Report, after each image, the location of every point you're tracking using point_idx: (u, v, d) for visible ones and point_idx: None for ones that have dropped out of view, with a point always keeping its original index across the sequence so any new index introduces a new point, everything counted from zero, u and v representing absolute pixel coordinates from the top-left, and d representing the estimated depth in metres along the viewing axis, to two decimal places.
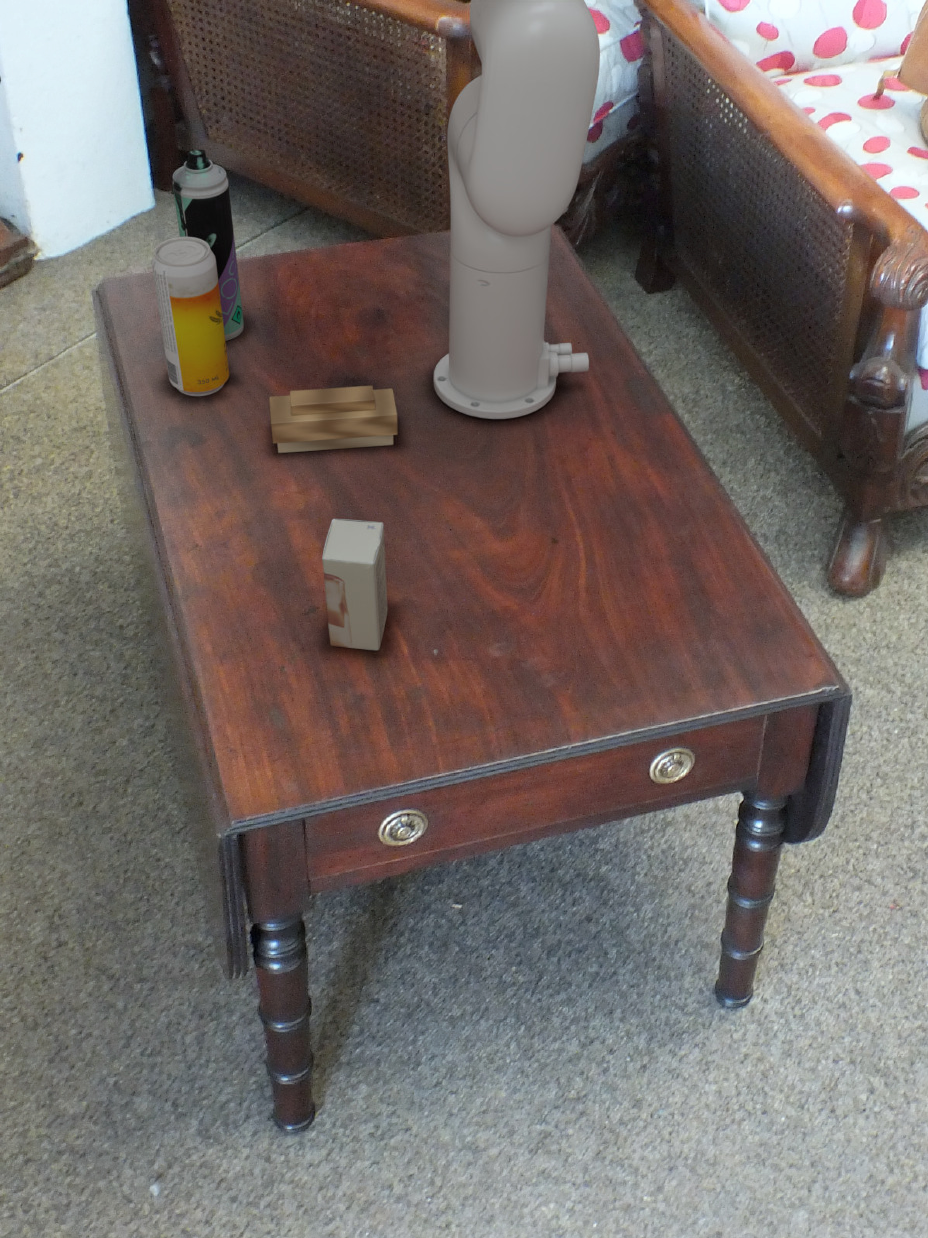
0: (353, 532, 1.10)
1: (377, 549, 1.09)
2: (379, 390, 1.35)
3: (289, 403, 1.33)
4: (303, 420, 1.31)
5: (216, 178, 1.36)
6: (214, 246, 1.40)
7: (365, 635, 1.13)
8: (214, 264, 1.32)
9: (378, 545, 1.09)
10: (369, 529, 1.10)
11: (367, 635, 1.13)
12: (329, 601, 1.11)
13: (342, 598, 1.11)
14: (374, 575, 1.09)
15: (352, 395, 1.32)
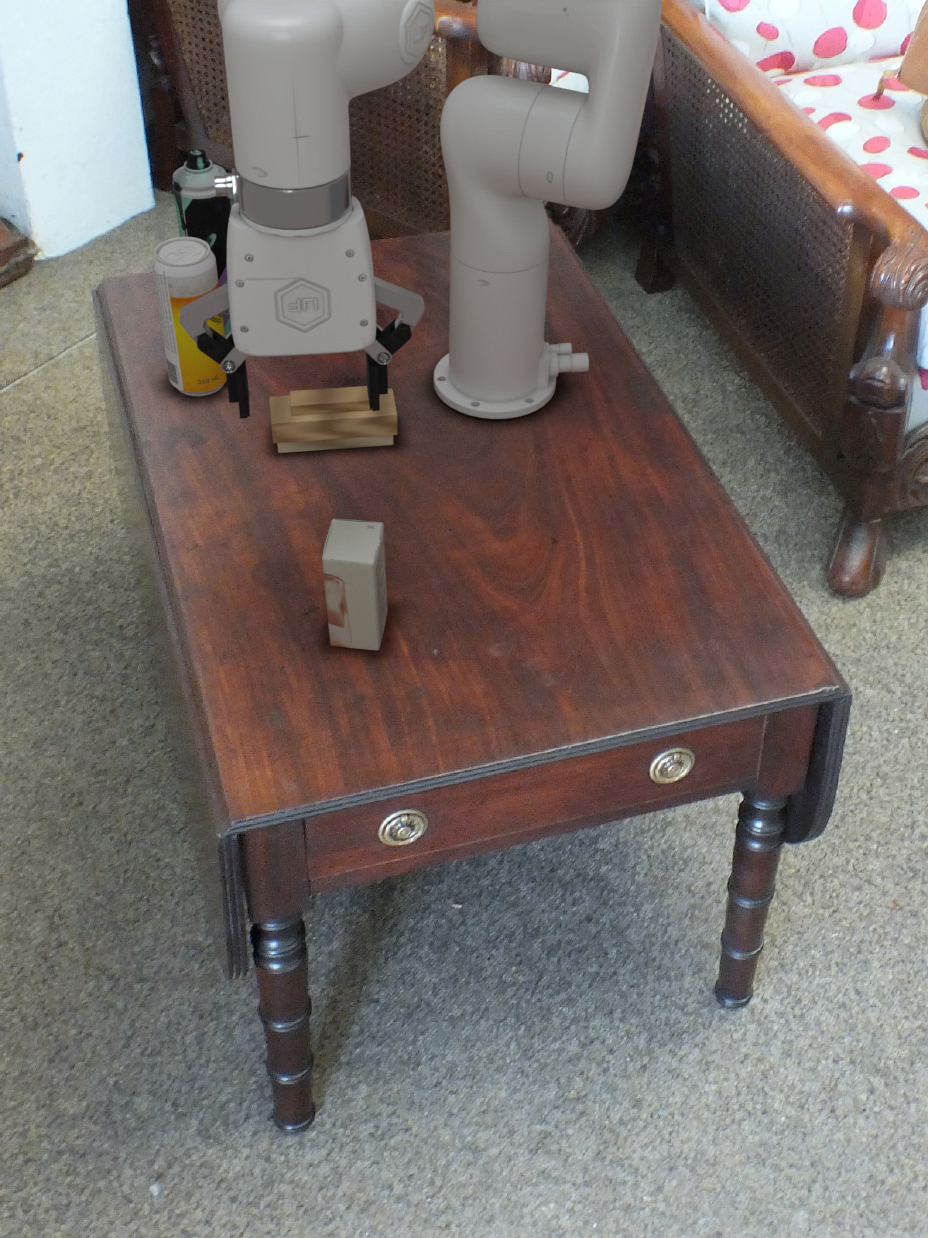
0: (353, 532, 1.10)
1: (377, 549, 1.09)
2: None
3: (289, 403, 1.33)
4: (303, 420, 1.31)
5: None
6: (214, 246, 1.40)
7: (365, 635, 1.13)
8: (214, 264, 1.32)
9: (378, 545, 1.09)
10: (369, 529, 1.10)
11: (367, 635, 1.13)
12: (329, 601, 1.11)
13: (342, 598, 1.11)
14: (374, 575, 1.09)
15: (352, 395, 1.32)
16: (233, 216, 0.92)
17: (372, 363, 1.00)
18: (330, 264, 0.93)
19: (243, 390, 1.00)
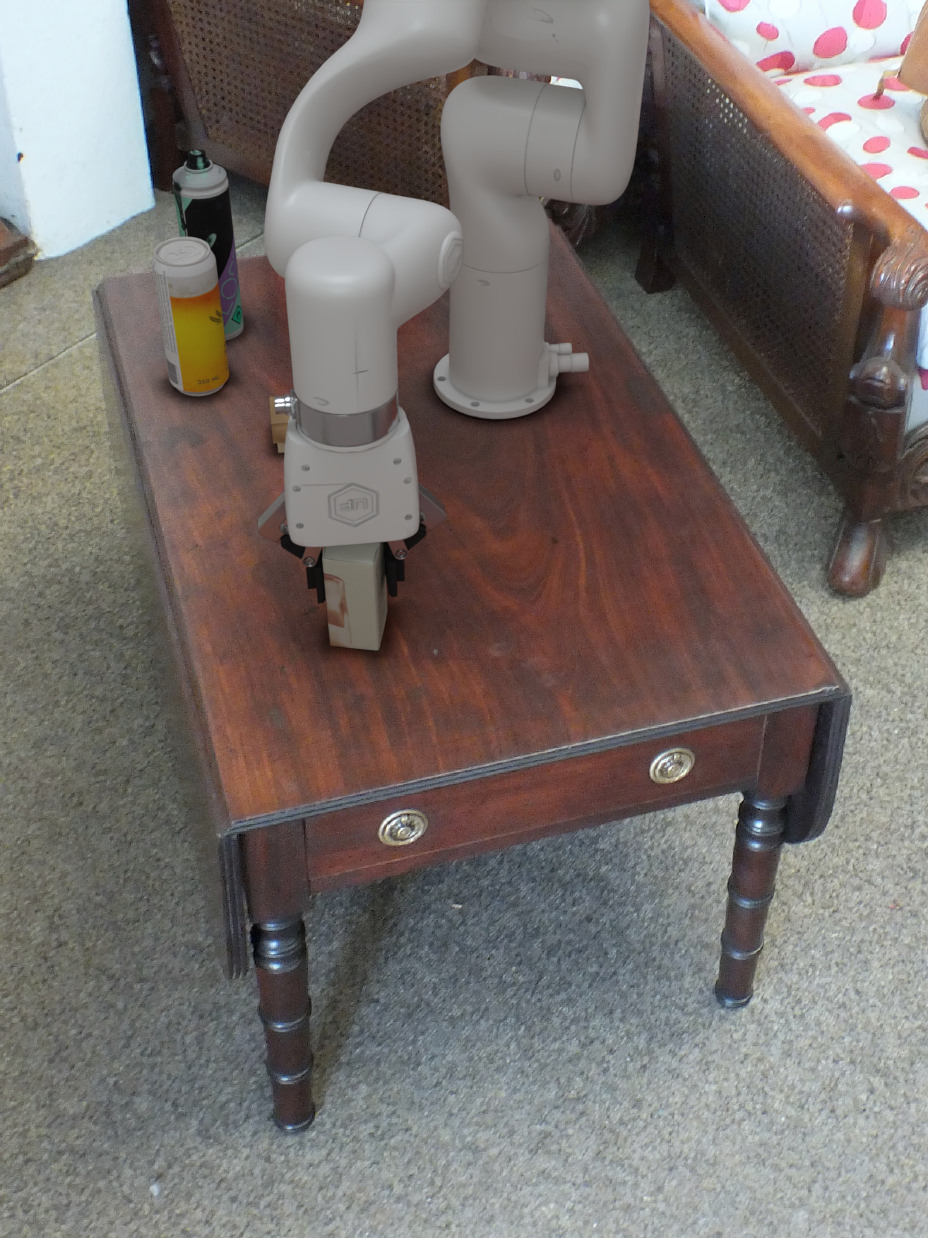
0: None
1: (377, 549, 1.09)
2: None
3: None
4: None
5: (216, 178, 1.36)
6: (214, 246, 1.40)
7: (365, 635, 1.13)
8: (214, 264, 1.32)
9: (378, 545, 1.09)
10: None
11: (367, 635, 1.13)
12: (329, 601, 1.11)
13: (342, 598, 1.11)
14: (374, 575, 1.09)
15: None
16: (291, 430, 1.01)
17: (390, 558, 1.10)
18: (379, 471, 1.02)
19: (321, 580, 1.10)
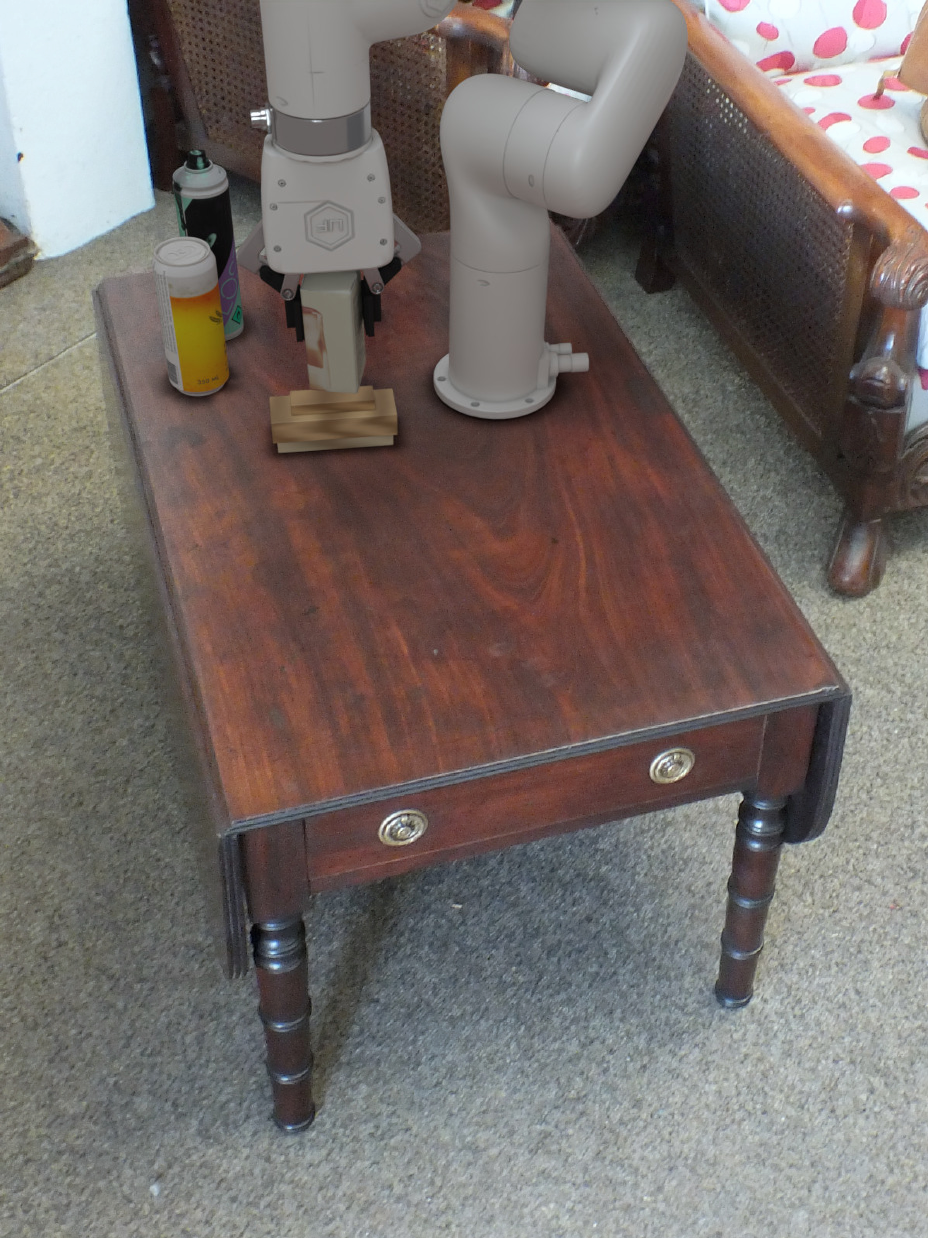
0: None
1: (354, 282, 1.12)
2: (379, 390, 1.35)
3: (289, 403, 1.33)
4: (303, 420, 1.31)
5: (216, 178, 1.36)
6: (214, 246, 1.40)
7: (344, 376, 1.16)
8: (214, 264, 1.32)
9: (355, 278, 1.12)
10: None
11: (346, 375, 1.16)
12: (308, 338, 1.14)
13: (320, 334, 1.13)
14: (351, 306, 1.11)
15: (352, 395, 1.32)
16: (267, 146, 1.03)
17: (367, 293, 1.13)
18: (353, 188, 1.04)
19: (300, 316, 1.13)
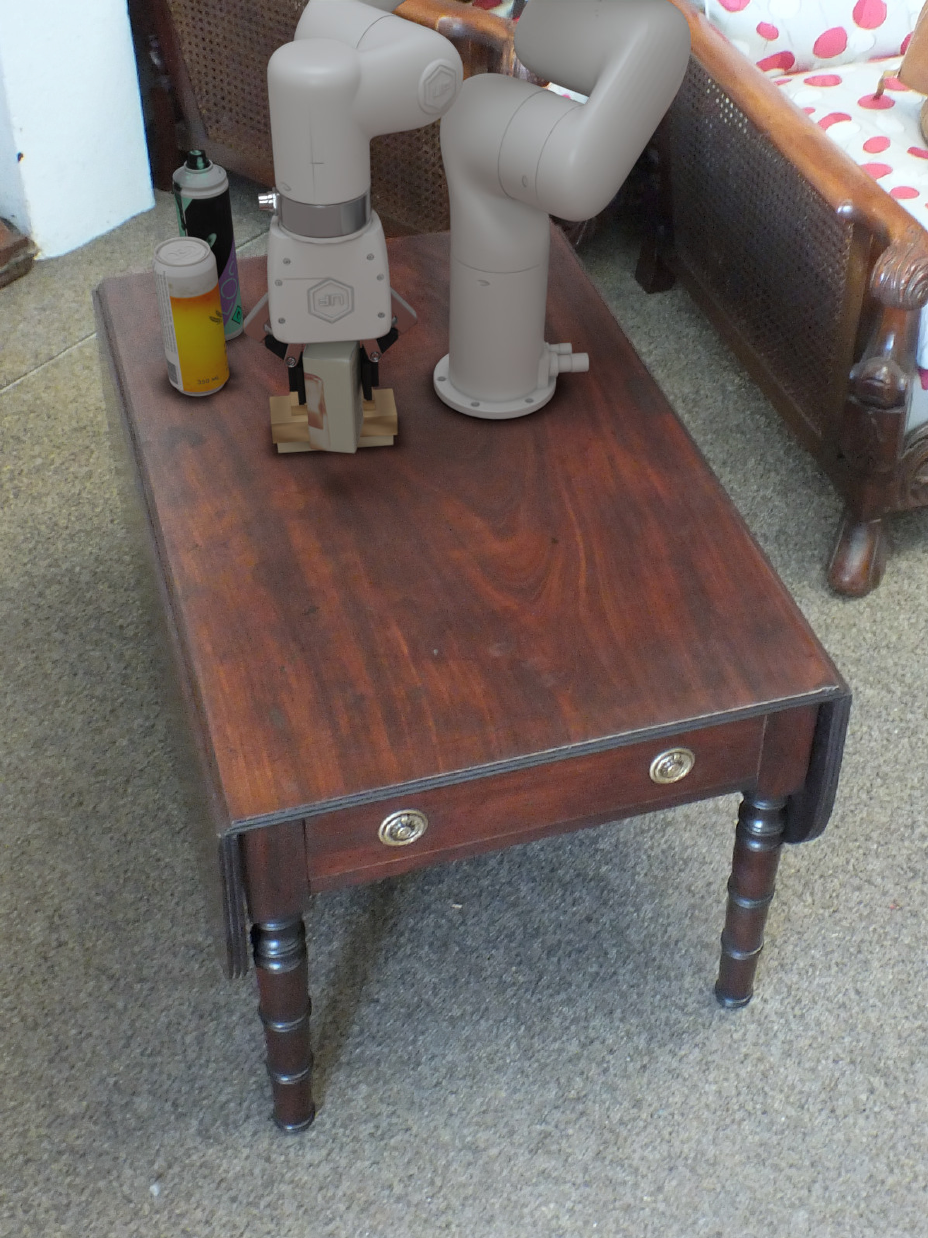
0: None
1: (353, 350, 1.19)
2: (379, 390, 1.35)
3: (289, 403, 1.33)
4: (303, 420, 1.31)
5: (216, 178, 1.36)
6: (214, 246, 1.40)
7: (343, 437, 1.23)
8: (214, 264, 1.32)
9: (354, 347, 1.19)
10: None
11: (344, 436, 1.23)
12: (309, 402, 1.21)
13: (321, 398, 1.20)
14: (350, 374, 1.18)
15: None
16: (273, 227, 1.11)
17: (365, 360, 1.20)
18: (354, 266, 1.11)
19: (302, 381, 1.20)
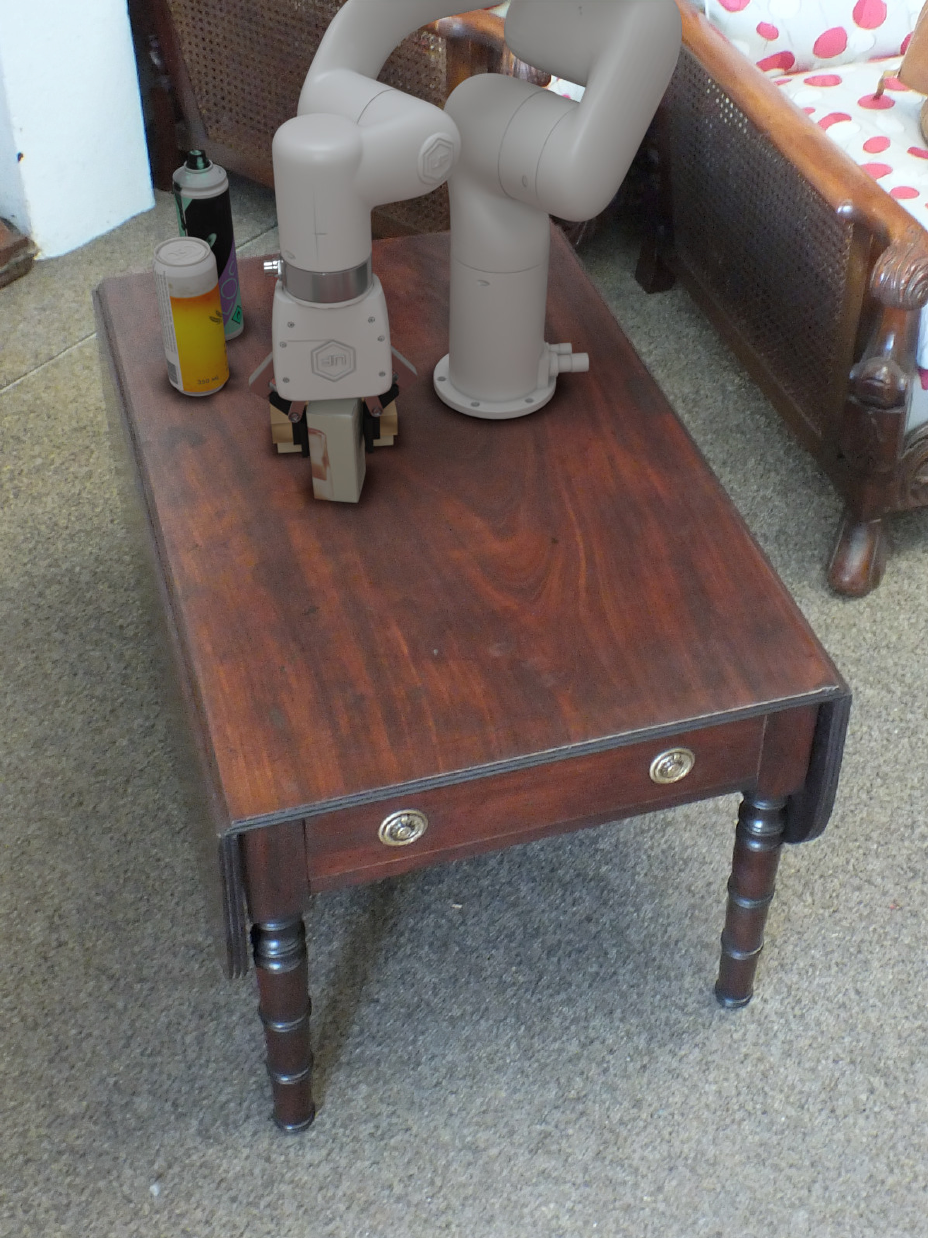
0: None
1: (355, 406, 1.23)
2: None
3: None
4: None
5: (216, 178, 1.36)
6: (214, 246, 1.40)
7: (346, 487, 1.27)
8: (214, 264, 1.32)
9: (356, 402, 1.23)
10: None
11: (347, 487, 1.27)
12: (313, 455, 1.25)
13: (324, 451, 1.24)
14: (352, 428, 1.22)
15: None
16: (278, 291, 1.15)
17: (367, 415, 1.24)
18: (355, 328, 1.15)
19: (305, 435, 1.24)
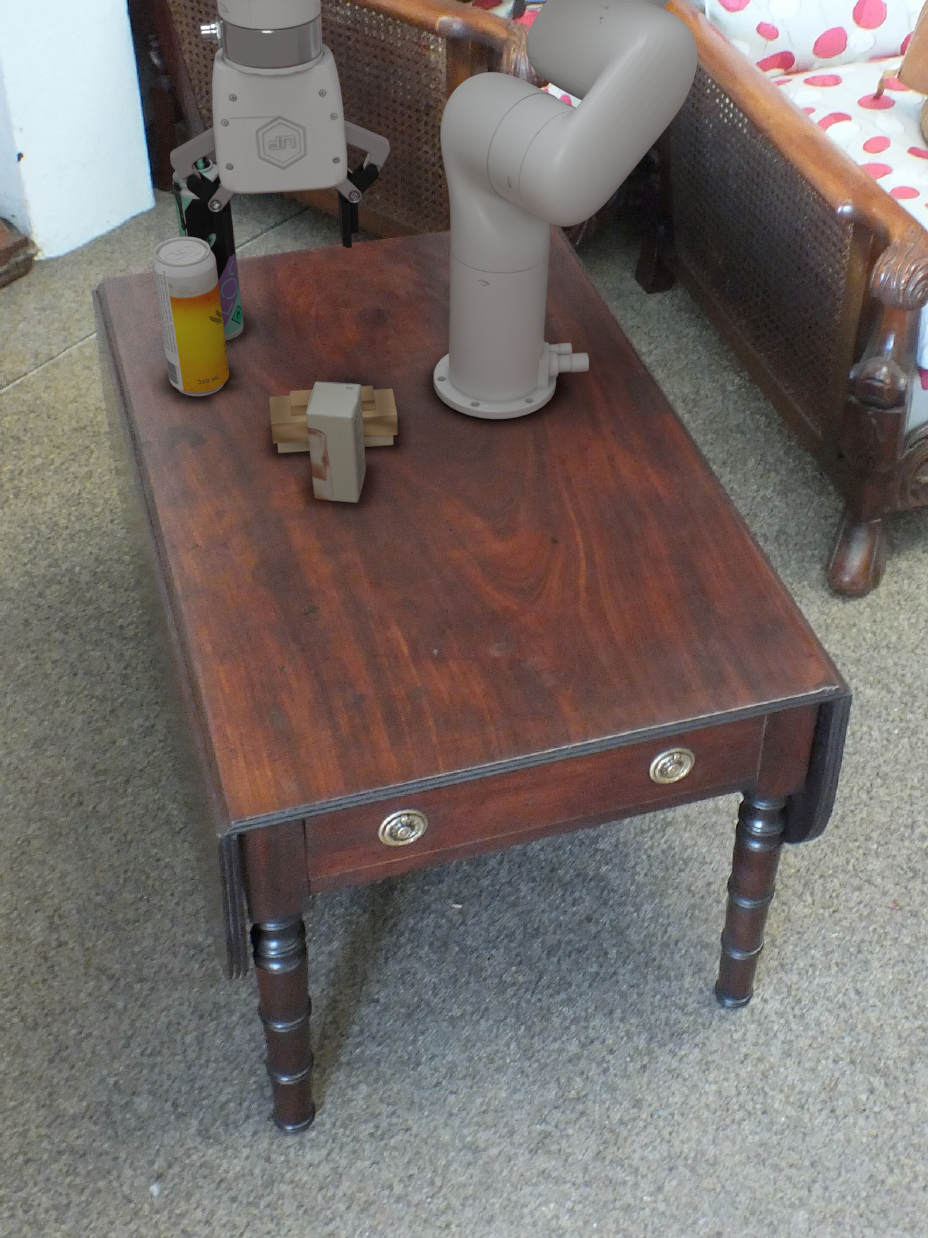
0: (334, 392, 1.24)
1: (355, 406, 1.23)
2: (379, 390, 1.35)
3: (289, 403, 1.33)
4: (303, 420, 1.31)
5: None
6: (214, 246, 1.40)
7: (346, 487, 1.27)
8: (214, 264, 1.32)
9: (356, 402, 1.23)
10: (348, 389, 1.24)
11: (347, 487, 1.27)
12: (313, 455, 1.25)
13: (324, 451, 1.24)
14: (352, 428, 1.22)
15: None
16: (217, 61, 1.03)
17: (344, 202, 1.12)
18: (305, 103, 1.04)
19: (229, 228, 1.11)
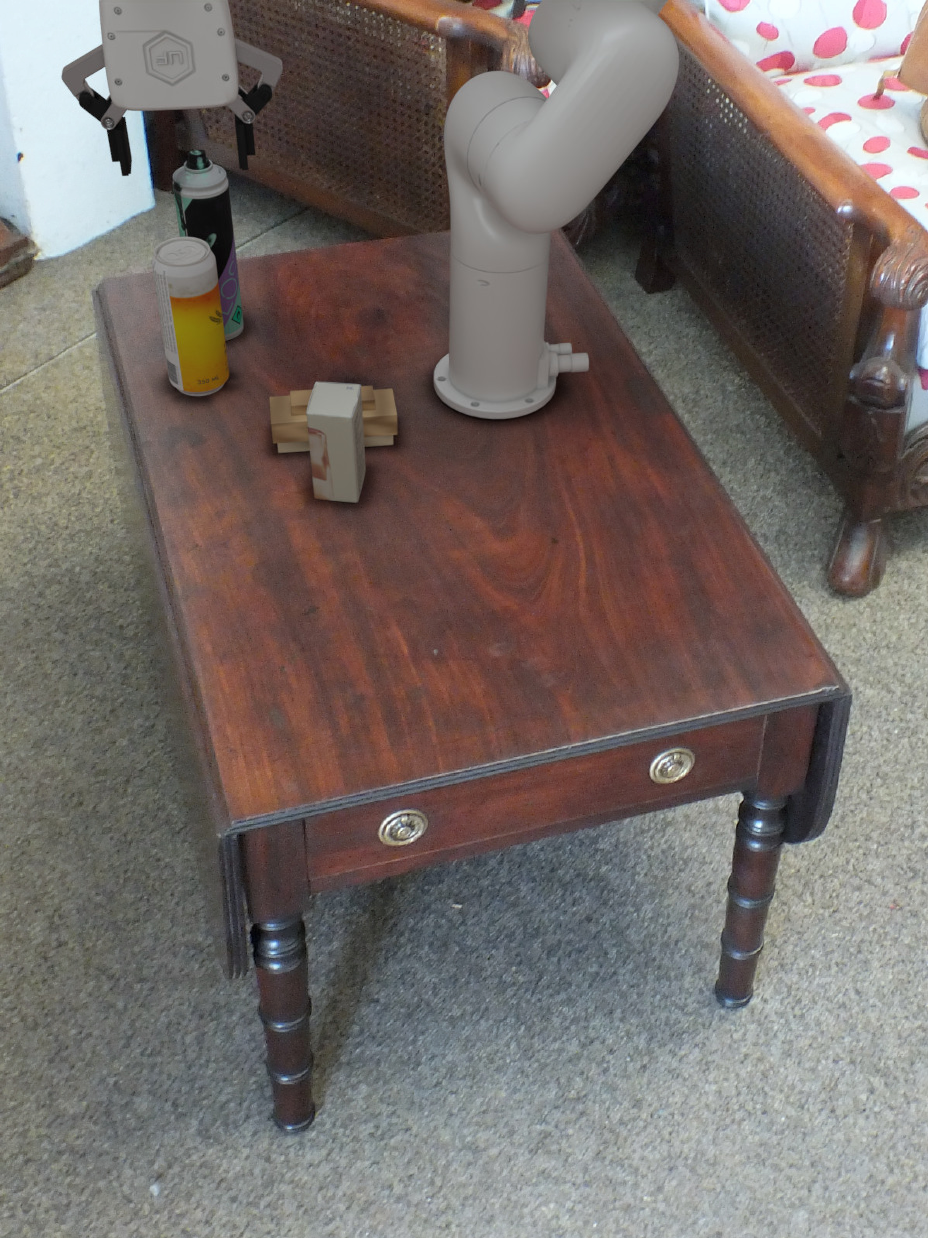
0: (334, 392, 1.24)
1: (355, 406, 1.23)
2: (379, 390, 1.35)
3: (289, 403, 1.33)
4: (303, 420, 1.31)
5: (216, 178, 1.36)
6: (214, 246, 1.40)
7: (346, 487, 1.27)
8: (214, 264, 1.32)
9: (356, 402, 1.23)
10: (348, 390, 1.24)
11: (347, 487, 1.27)
12: (313, 455, 1.25)
13: (324, 451, 1.24)
14: (352, 428, 1.22)
15: None
16: None
17: (238, 122, 1.12)
18: (191, 17, 1.05)
19: (123, 147, 1.12)
